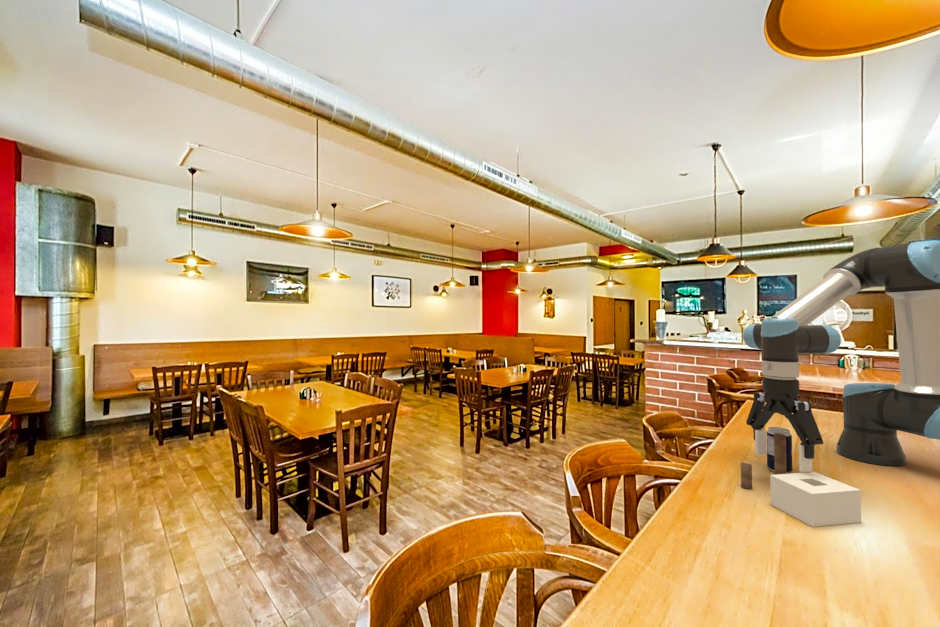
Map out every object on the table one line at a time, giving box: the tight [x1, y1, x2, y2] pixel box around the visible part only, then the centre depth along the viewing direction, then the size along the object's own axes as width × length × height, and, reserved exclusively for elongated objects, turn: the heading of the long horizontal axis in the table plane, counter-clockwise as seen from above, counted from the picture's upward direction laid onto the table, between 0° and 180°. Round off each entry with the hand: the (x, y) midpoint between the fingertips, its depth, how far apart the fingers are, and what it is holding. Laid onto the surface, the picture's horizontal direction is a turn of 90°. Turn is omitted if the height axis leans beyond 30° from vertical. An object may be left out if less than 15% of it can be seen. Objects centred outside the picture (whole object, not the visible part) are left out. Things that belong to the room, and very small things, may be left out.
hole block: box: [769, 471, 862, 528], centre depth 89 cm, size 12×10×7 cm
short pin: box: [740, 462, 753, 490], centre depth 102 cm, size 2×2×6 cm
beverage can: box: [766, 426, 793, 474], centre depth 112 cm, size 6×6×12 cm
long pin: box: [774, 433, 786, 475], centre depth 101 cm, size 2×2×14 cm
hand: (781, 462), depth 101 cm, fingers open, 12 cm apart
